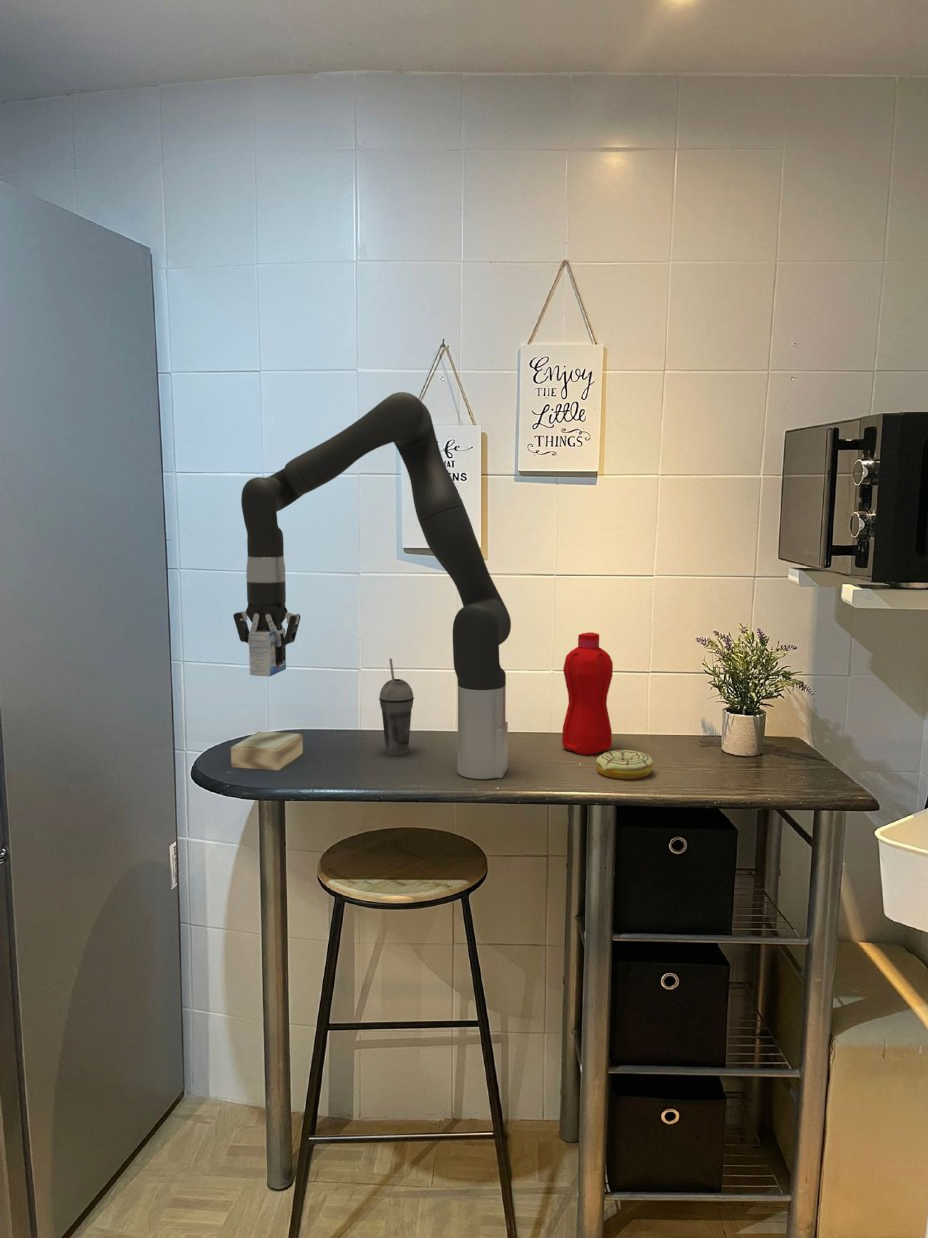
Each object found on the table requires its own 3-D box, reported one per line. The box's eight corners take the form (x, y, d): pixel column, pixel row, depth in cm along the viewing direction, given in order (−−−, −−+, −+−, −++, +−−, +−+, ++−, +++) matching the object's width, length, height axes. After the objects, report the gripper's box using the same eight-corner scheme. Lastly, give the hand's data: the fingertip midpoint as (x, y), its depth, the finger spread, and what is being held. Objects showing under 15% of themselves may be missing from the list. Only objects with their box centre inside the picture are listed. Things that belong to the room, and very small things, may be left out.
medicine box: (269, 677, 172) (269, 633, 170) (249, 675, 173) (248, 632, 171) (286, 669, 179) (286, 627, 178) (266, 668, 180) (265, 626, 179)
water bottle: (580, 739, 193) (582, 627, 189) (617, 750, 184) (620, 633, 181) (550, 746, 187) (551, 631, 184) (586, 758, 178) (589, 637, 175)
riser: (302, 753, 182) (302, 733, 182) (278, 770, 170) (278, 749, 170) (258, 750, 184) (257, 731, 184) (231, 767, 173) (230, 746, 172)
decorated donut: (593, 765, 175) (594, 747, 174) (647, 766, 174) (648, 747, 174) (599, 781, 164) (599, 762, 164) (656, 782, 164) (657, 762, 163)
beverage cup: (419, 755, 181) (418, 660, 178) (385, 758, 178) (384, 662, 176) (408, 746, 188) (407, 654, 185) (375, 749, 185) (374, 656, 182)
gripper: (307, 578, 175) (308, 662, 178) (242, 576, 179) (244, 658, 181) (291, 582, 168) (292, 669, 170) (224, 579, 171) (226, 665, 174)
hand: (267, 663), depth 176 cm, fingers closed on medicine box, 4 cm apart
